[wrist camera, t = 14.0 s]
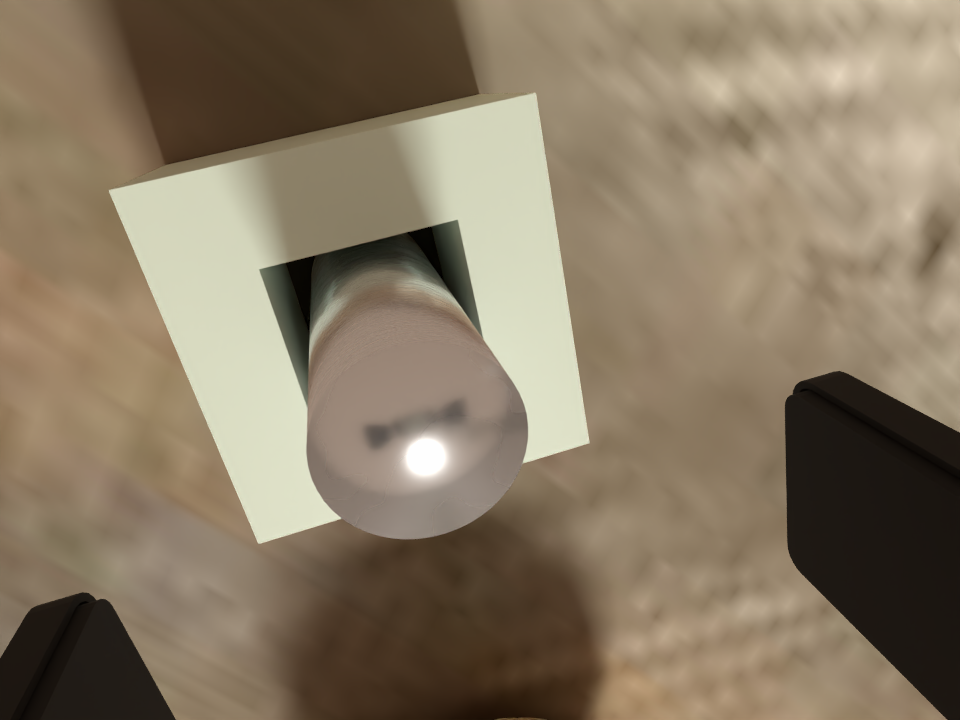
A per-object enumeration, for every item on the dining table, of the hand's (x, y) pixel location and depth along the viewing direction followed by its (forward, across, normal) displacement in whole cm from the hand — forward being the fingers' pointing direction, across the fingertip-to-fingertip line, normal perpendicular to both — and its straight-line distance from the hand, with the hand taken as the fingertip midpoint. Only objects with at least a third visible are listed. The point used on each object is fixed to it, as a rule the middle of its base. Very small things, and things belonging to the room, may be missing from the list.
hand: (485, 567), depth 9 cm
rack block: (+15, +1, 0) cm, 15 cm away
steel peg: (+15, +1, 0) cm, 15 cm away
